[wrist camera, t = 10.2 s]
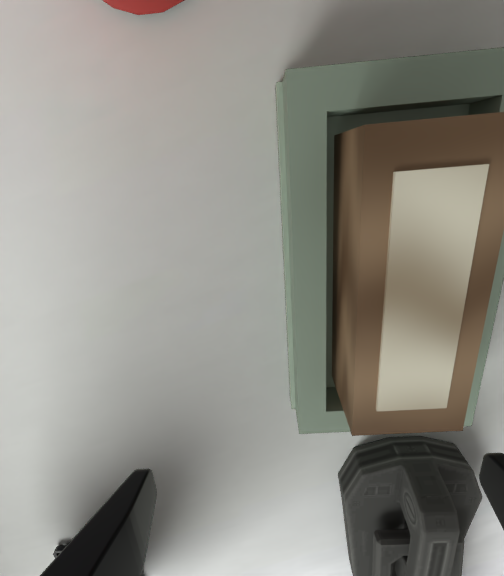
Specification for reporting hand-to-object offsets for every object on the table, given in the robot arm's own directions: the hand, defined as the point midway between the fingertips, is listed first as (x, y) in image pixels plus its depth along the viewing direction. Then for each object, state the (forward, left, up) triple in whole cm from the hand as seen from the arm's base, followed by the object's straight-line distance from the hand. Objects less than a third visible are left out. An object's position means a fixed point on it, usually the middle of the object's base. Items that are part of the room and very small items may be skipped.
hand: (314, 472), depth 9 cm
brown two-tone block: (+2, -5, -10) cm, 11 cm away
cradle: (+2, -5, -11) cm, 12 cm away
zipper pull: (-23, -8, -11) cm, 27 cm away
